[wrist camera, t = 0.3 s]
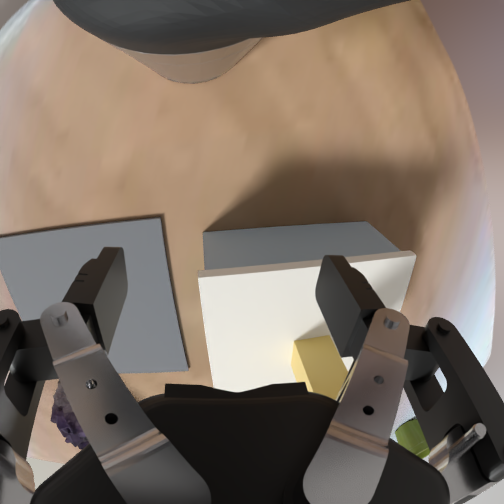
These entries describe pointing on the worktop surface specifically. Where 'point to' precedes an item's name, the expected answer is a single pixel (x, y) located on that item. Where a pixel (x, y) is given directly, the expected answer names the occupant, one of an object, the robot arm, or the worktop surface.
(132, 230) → the mat
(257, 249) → the tub
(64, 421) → the geode
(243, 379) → the lid
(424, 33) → the worktop surface
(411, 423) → the plant pot
